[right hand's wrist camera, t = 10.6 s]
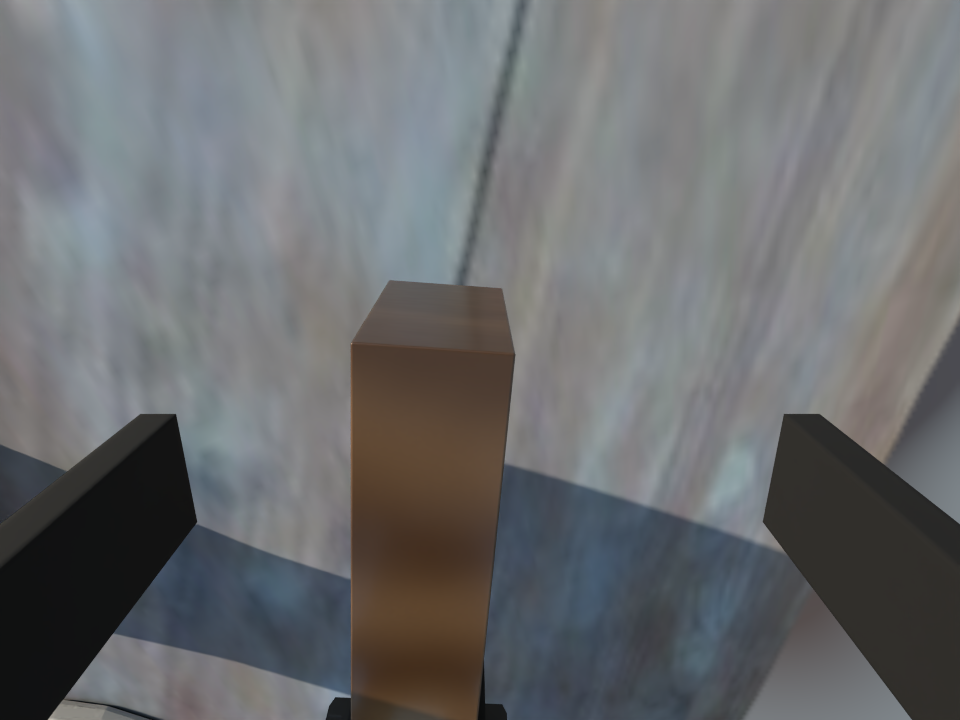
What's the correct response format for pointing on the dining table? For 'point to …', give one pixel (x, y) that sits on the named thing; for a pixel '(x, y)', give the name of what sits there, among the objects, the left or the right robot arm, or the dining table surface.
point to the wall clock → (90, 712)
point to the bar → (425, 496)
